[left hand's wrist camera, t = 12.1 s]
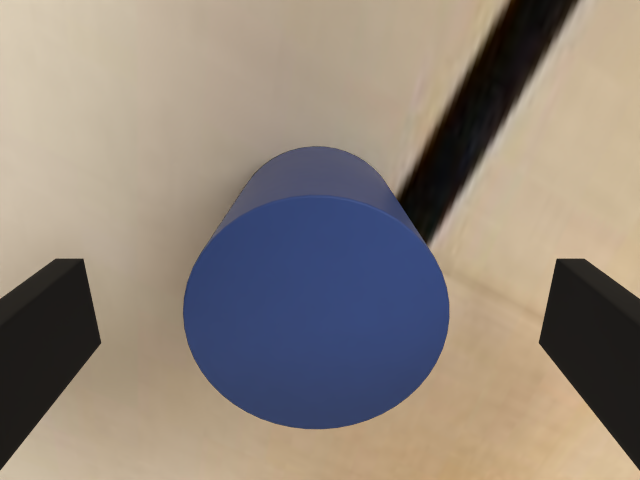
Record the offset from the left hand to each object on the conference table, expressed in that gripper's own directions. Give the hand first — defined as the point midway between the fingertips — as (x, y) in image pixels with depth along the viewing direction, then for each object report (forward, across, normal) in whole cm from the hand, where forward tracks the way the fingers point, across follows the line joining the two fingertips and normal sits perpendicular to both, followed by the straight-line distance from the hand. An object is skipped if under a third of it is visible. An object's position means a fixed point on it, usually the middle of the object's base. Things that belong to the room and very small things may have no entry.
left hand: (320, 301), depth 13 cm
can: (+8, 0, -1) cm, 8 cm away
